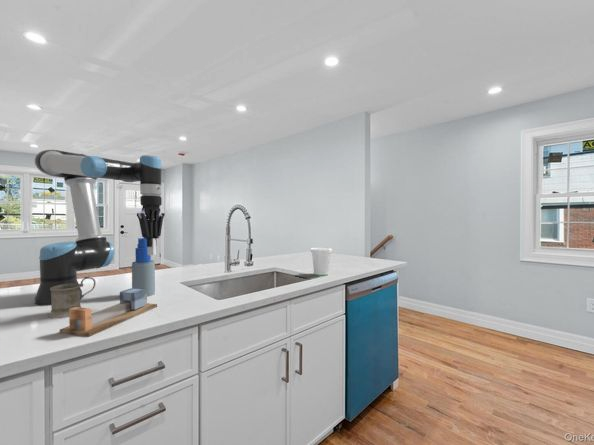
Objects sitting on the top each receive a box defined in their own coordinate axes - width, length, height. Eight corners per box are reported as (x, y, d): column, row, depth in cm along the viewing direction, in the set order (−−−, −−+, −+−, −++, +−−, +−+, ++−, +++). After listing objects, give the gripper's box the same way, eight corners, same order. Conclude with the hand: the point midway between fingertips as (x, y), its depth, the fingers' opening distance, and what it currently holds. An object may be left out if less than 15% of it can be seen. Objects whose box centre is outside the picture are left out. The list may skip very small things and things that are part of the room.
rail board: (59, 332, 87) (59, 309, 87) (133, 304, 114) (132, 286, 114) (89, 336, 85) (88, 312, 84) (157, 306, 112) (156, 288, 112)
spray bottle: (145, 290, 135) (145, 236, 134) (159, 293, 131) (158, 237, 130) (127, 295, 126) (126, 238, 126) (141, 298, 123) (140, 239, 122)
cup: (332, 276, 166) (332, 250, 166) (310, 276, 166) (311, 249, 166) (330, 272, 179) (330, 247, 178) (310, 272, 179) (310, 247, 178)
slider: (119, 308, 106) (119, 291, 105) (130, 304, 110) (130, 288, 110) (134, 309, 104) (134, 293, 104) (145, 305, 109) (145, 289, 109)
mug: (55, 320, 98) (54, 284, 97) (43, 314, 103) (42, 280, 102) (102, 308, 110) (101, 276, 109) (89, 304, 115) (89, 273, 115)
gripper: (147, 194, 108) (147, 257, 109) (170, 196, 121) (170, 253, 122) (130, 194, 110) (131, 256, 111) (154, 196, 123) (155, 252, 124)
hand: (151, 254), depth 116 cm, fingers closed
